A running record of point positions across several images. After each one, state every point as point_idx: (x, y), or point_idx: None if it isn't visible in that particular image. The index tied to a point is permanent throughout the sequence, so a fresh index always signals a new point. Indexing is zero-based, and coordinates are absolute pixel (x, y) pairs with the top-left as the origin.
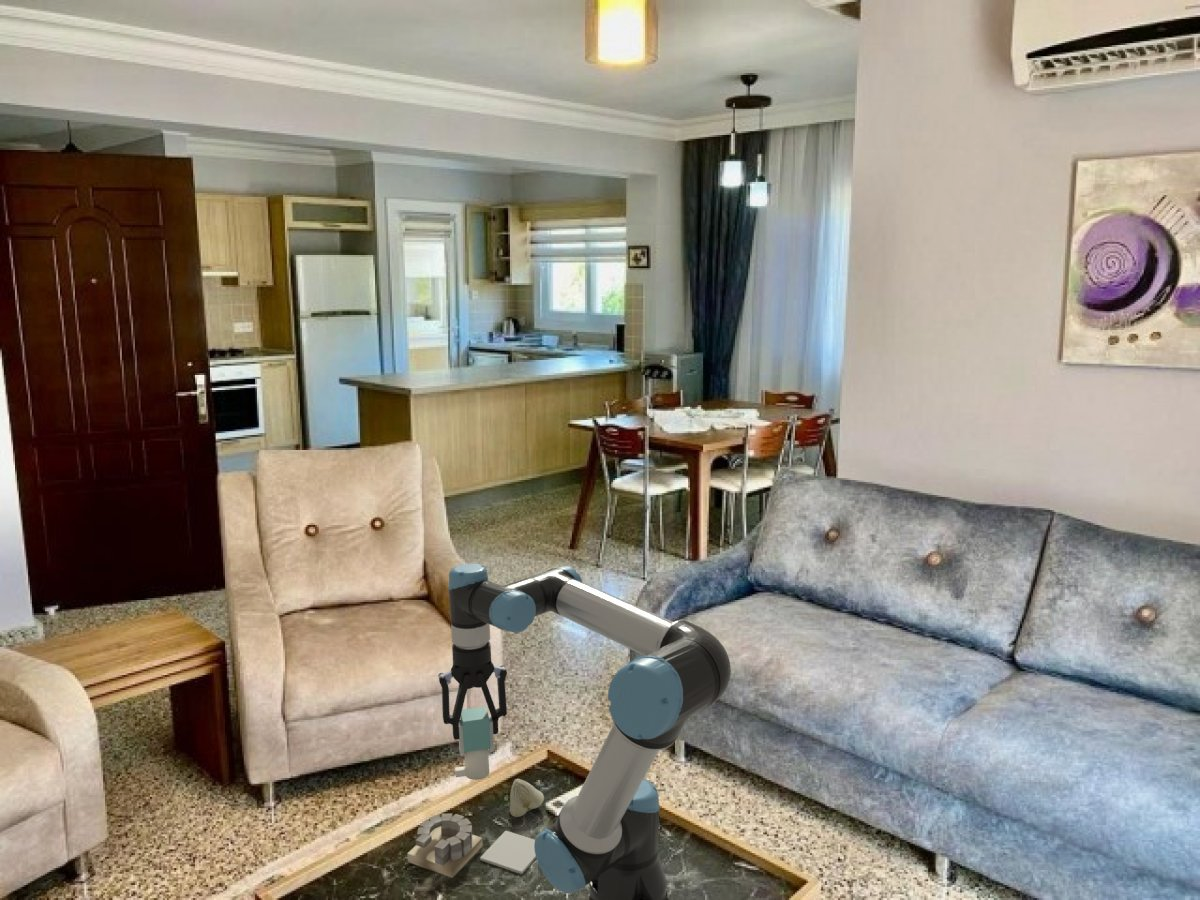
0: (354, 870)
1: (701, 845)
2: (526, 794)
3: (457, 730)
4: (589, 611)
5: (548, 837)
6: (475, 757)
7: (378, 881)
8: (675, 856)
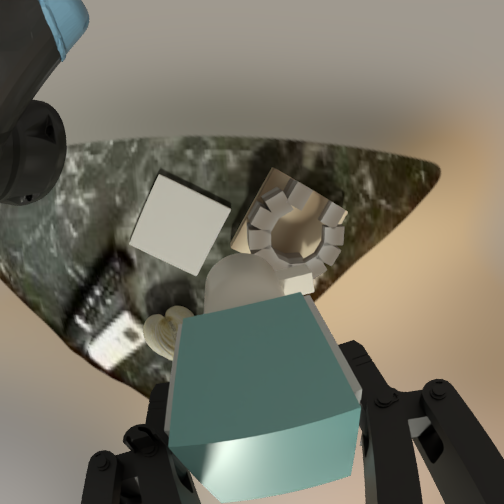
0: (405, 196)
1: None
2: (166, 335)
3: (356, 375)
4: None
5: None
6: (249, 290)
7: (376, 169)
8: None
